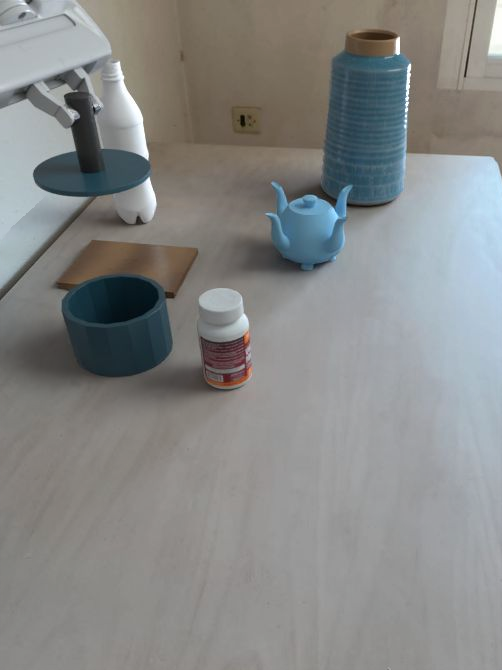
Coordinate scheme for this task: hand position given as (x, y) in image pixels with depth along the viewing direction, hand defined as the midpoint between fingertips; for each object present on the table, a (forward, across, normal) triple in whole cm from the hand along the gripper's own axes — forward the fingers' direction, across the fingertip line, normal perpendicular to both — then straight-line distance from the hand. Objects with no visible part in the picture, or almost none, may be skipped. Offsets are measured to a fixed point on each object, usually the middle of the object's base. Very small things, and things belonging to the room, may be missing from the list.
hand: (86, 118), depth 70 cm
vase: (+29, +57, +9) cm, 65 cm away
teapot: (+30, +28, +8) cm, 42 cm away
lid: (+4, 0, +5) cm, 6 cm away
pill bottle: (+32, -5, +6) cm, 33 cm away
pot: (+21, -5, +17) cm, 28 cm away
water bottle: (+7, +28, +32) cm, 43 cm away
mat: (+13, +12, +25) cm, 31 cm away
